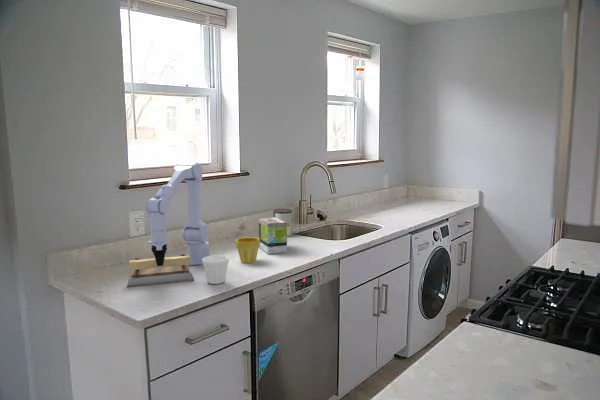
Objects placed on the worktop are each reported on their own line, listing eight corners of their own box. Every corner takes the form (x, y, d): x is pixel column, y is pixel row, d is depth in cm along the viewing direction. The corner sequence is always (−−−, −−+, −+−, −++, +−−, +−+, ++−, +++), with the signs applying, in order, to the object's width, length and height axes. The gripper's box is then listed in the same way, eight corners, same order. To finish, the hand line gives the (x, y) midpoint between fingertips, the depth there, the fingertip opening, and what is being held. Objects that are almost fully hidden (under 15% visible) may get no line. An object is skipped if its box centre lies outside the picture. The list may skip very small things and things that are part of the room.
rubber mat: (192, 274, 186) (192, 273, 186) (193, 280, 177) (193, 279, 177) (128, 279, 179) (128, 278, 179) (127, 287, 170) (127, 286, 170)
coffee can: (269, 235, 256) (269, 209, 254) (284, 232, 263) (284, 207, 261) (281, 238, 248) (280, 212, 246) (296, 235, 255) (295, 210, 253)
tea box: (287, 252, 218) (287, 221, 216) (267, 254, 215) (267, 223, 212) (277, 245, 232) (277, 216, 230) (258, 247, 228) (257, 218, 226)
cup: (197, 282, 175) (196, 258, 174) (219, 276, 182) (218, 253, 181) (212, 288, 168) (211, 263, 167) (234, 282, 175) (234, 258, 174)
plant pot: (246, 256, 211) (245, 235, 209) (264, 260, 206) (264, 238, 204) (231, 262, 202) (231, 240, 201) (250, 265, 197) (250, 243, 195)
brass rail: (189, 262, 182) (189, 255, 181) (190, 264, 179) (189, 257, 179) (130, 268, 175) (129, 260, 175) (129, 270, 173) (129, 262, 172)
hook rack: (187, 267, 195) (187, 253, 195) (189, 272, 188) (188, 258, 187) (132, 272, 189) (131, 257, 188) (131, 277, 181) (130, 263, 181)
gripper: (147, 226, 181) (149, 260, 183) (146, 234, 167) (148, 270, 169) (166, 225, 183) (168, 258, 185) (167, 232, 169) (168, 268, 171)
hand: (160, 264), depth 177 cm, fingers closed on brass rail, 3 cm apart
